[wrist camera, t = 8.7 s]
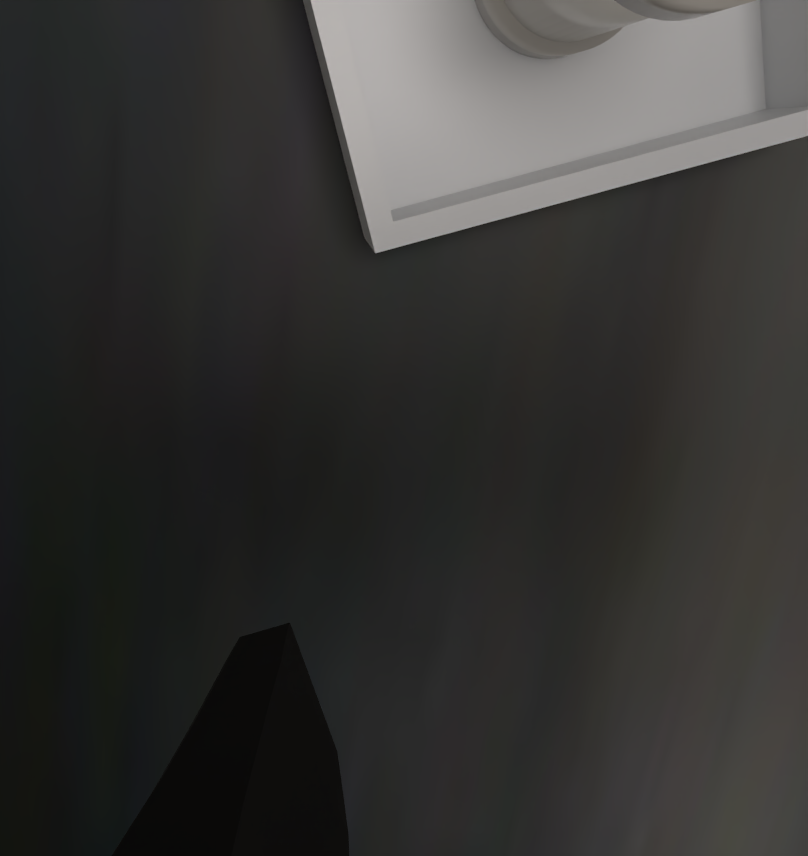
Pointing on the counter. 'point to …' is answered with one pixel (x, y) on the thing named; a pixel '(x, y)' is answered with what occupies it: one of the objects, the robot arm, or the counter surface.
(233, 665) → the robot arm
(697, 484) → the counter surface
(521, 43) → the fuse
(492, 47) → the tray
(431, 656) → the counter surface
